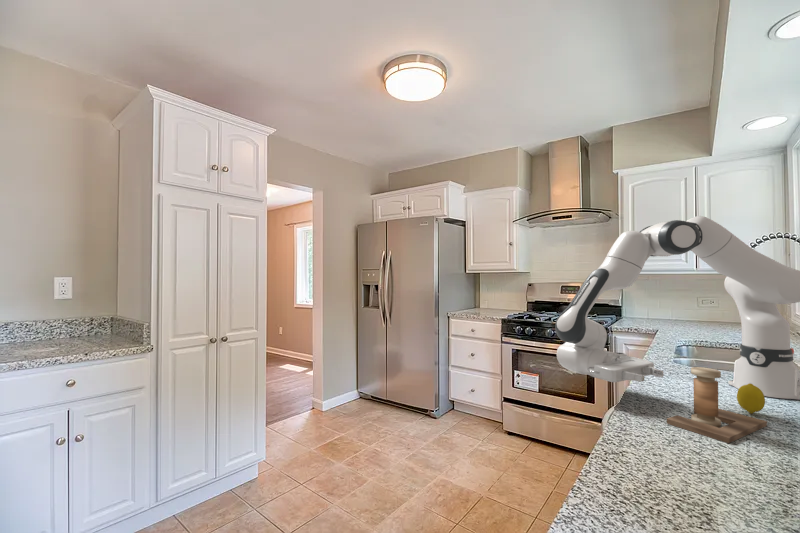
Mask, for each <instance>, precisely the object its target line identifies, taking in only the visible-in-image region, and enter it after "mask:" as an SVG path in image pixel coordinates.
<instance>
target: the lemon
mask: <svg viewBox="0 0 800 533" xmlns="http://www.w3.org/2000/svg"><path fill="white" fill-rule="evenodd" d="M765 397H766V396H764V394H763V392H762V391H761V390H760V389H759V388H758V387H756V386H754V385H753V384H750V383H749V384H747V385H743V386H741V387H740V388H739V389H737V393H736V401H737V403H738V405H739V406H740V408H742V409H743V410H745V411H746V412H748V414H751V415H752V414H754V413H758V412H760V411H762V410H763V409H764V407H765V404H766V399H765Z"/></svg>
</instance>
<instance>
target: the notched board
mask: <svg viewBox="0 0 800 533" xmlns="http://www.w3.org/2000/svg"><path fill="white" fill-rule="evenodd" d="M693 414H697V413H696V412H694V411H693ZM715 417H716V418H718V419H720V420H721V423H724V424H726V425H723V426H721V427H719V428H718V427H715V426H711V425H708V424H705V423H701V422H698V421H695V420H691V418H687V417H684V416H681V415H677V414H676V415H673V416H670V417H668V418H666V424H668V425H669V426H670V425H671V426H674V427H677V428H679V429H682V430H683V429H684V430H686V431H689V432H692V433H695V434H698V435H701V436H704V437H708V438H711V439H714V440H717V441H720V442H723V443H725V444H730V443H733V442H735V441H737V440H739V439H742V438H744V437H746V436H748V435H751V434H752V433H755V432H757V431H759V430H761V429H764V428H766V427H768V421H767V420H763V419H761V418H756V417H752V416H748V415H745V414H741V413H737V412H733V411H731V410H726V409H722V408H719V407H718V416H715Z"/></svg>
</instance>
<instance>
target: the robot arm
mask: <svg viewBox="0 0 800 533" xmlns="http://www.w3.org/2000/svg"><path fill="white" fill-rule="evenodd" d="M690 251H691V252H692V253H693V254H694V255H695V256H696V257H698V258H699V259H700V260H701V261H703V262H704V263H705V264H706V265H708V266H709V267H710V268H712V270H714V271H715V272H716V273H718V274H720V275H722V276H725V279H724V283H723V284H724V285H723V286H724V289H725V291H726V292H727V294H728V295H729V296H731V298H732V299H733V301H734V303H735V305H736V308H737V311H738V313H739V314H738V315H739V319H740V322H741V325H740V326H741V343H740V344H739V355H740V357H739V358H737V359H736V360H735V361H734V366H733V367H734V368H733V380H728V382H727V383H728V385H730V386H733V387H734V388H736V389H737V390H739V388H740V387H741V386H743V385H747V384H749V383H750V384H753V385H754V386H756V387H758V388H759V389H760V390H761V391H762V392H763V394H764V397H769V398H776V399H788V400H791V399H792V400H799V401H800V369H799V368H798V367H797V364H796V365H795V363H794V353H795V349H794V348H792V347H791V325H790V323H789V321H788V320H787V319H786V318H785V317H784V315H782V314H781V312H780V310H779V309H778V306H777V305H790V304H797V303H800V270H798V269H795V268H793V267H789V266H787V265H785V264H782V263H781V262H779V261H777V260H775V259H772V258H771V257H769V256H766V255H765V254H763V253H761V252H759V251H758V250H755V249H754V248H752V247H750V246H749V245H748V244H746V242H744V241H743V240H741V239H740V238H739V237H737V236H736V235H735V234H734V233H732V232H731V231H729V229H727V228H725V227H724V226H723V225H721V224H719V223H718V222H716V221H714V220H712V219H711V218H708V217H706V216H702V215H696V216H693V217H691V218H689V219H687V220H681V219H679V220H678V219H677V220H675V219H674V220H670V221H662V222H661V221H660V222H658V223H655V224H653V225H649V226H646V227H644V228H643V229H641V230H640V231H637V230H627V231H623V232H621V234H619V236H618V237H617V238H616V240H615V241H614V243H613V244H612V246H611V247H610V249H609V251H608V252H607V254H606V256H605V258H604V260H603V261H602V263H601V264H600V266H599V267H598V268H596V269H594V270H593V271H591V273H589V274H588V276H587V278H586V279H585V280H584V282H583V283H582V285H581V286H580V287H579V289H578V291H577V292H576V294H575V296H574V297H573V299H572V300H571V301H570V303H569V304H568V306H567V307H566V308H565V309H564V310H563V311H562V312H561V313H559V315H558V317H557V318H556V320H555V324H554V329H555V330H554V331H555V333H556V336H557V337H558V338H559V339H560V340H561V341H563V342H564V343H563V344H560V345H559V346H558V348H557V349H556V350H557V351H556V359H557V361H558V364H559V365H560V366H561V367H562V368H564V369H566V370H568V371H571V372H573V373H576V374H581V375H588V376H590V377H592V378H595V379H599V380H603V381H606V382H609V383H610V382H611V383H620V382H624V381H635V382H639V383H641V382H644V381H645V377H646V376H648V377H649V376H654V377H656V378H663V377H664V375H665V374H664V371H663V370H661V369H657V368H655V365H654V363H653V362H652V361H650V360H647V359H643V358H641V357H640V358H638V357H635V356H630V355H627V353H625V352H613V351H609V350H604V349H605V346H606V344H607V341H608V331H607V330H606V327H605V326H603V325H602V324H600V323H599V322H597V321H595V320H592V319H590V318H588V315H589V312H590V311H591V309H592V308H593V306H594V305H595V303H596V302H597V301H598V299H599V297H600V296H601V295H602V294H603V293H604V292H607V291H613V290H614V291H615V290H618V291H619V290H623V289H627V288H630V287H631V286H632V285H633V284H635V282H636V280H638V278H639V276H640V274H641V272H642V269H643V268H644V266H645V264H646V261H647V260H648V259H649V258H650V257H670V256H674V255H675V256H676V255H679V256H680V255H683V254H687V253H688V252H690Z"/></svg>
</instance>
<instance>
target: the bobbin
mask: <svg viewBox="0 0 800 533" xmlns="http://www.w3.org/2000/svg"><path fill="white" fill-rule="evenodd" d="M690 374H692V375H694V376H696V377H694V378H693V414H691V416H690V417H691V418H690V419H691V420H695V421H698V422H701V423H705V424H708V425H711V426H715V427H718V428H721V427H722V422H721V420H720V419H718V418H716V417H715V416H718V408H719V381H717V380H716V379H720V378H721V377H722V376H721V374H722V372H721V370H718V369H715V368H711V367H703V366H702V367H701V366H694V367H690ZM694 412H696V413H697V414H694Z"/></svg>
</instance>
